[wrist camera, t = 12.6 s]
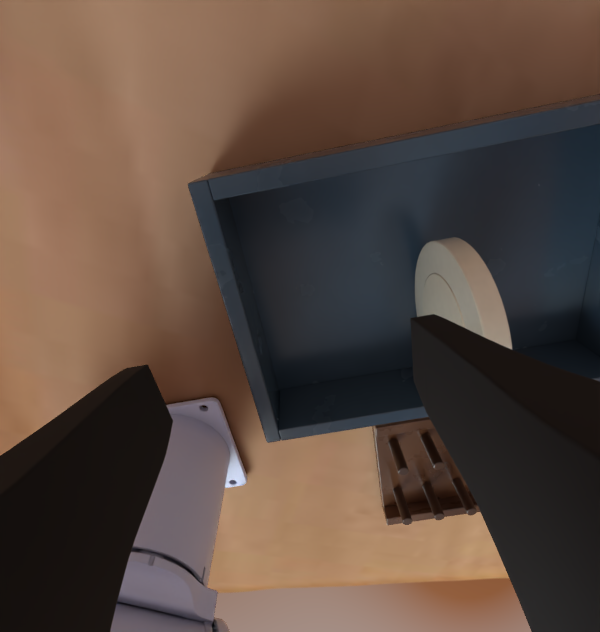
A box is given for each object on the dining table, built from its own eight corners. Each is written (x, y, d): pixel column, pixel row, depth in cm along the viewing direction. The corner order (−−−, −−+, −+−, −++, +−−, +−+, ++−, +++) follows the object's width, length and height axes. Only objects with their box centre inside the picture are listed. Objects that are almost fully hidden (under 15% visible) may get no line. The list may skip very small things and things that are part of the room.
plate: (410, 327, 22) (465, 454, 16) (418, 207, 16) (507, 336, 10) (426, 323, 22) (488, 450, 16) (440, 202, 16) (542, 330, 10)
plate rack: (382, 506, 28) (392, 545, 26) (370, 410, 24) (381, 446, 21) (496, 489, 28) (519, 527, 25) (506, 388, 24) (535, 422, 21)
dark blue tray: (270, 395, 23) (266, 443, 19) (208, 173, 17) (186, 183, 13) (579, 342, 22) (637, 383, 18) (630, 87, 16) (731, 73, 12)
